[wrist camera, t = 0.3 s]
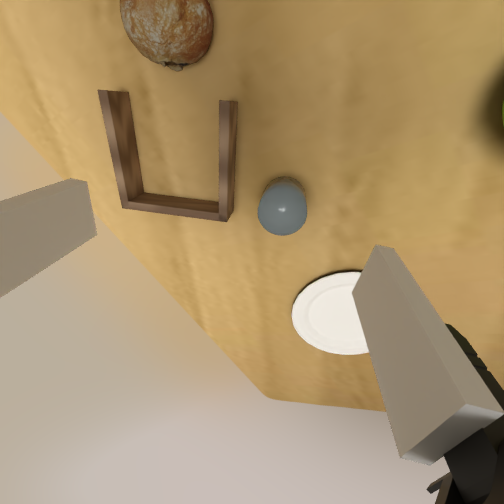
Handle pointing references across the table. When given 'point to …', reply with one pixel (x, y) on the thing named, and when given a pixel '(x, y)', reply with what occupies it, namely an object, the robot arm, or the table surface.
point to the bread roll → (169, 29)
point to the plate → (330, 315)
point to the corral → (129, 168)
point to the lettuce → (503, 113)
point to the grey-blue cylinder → (283, 206)
